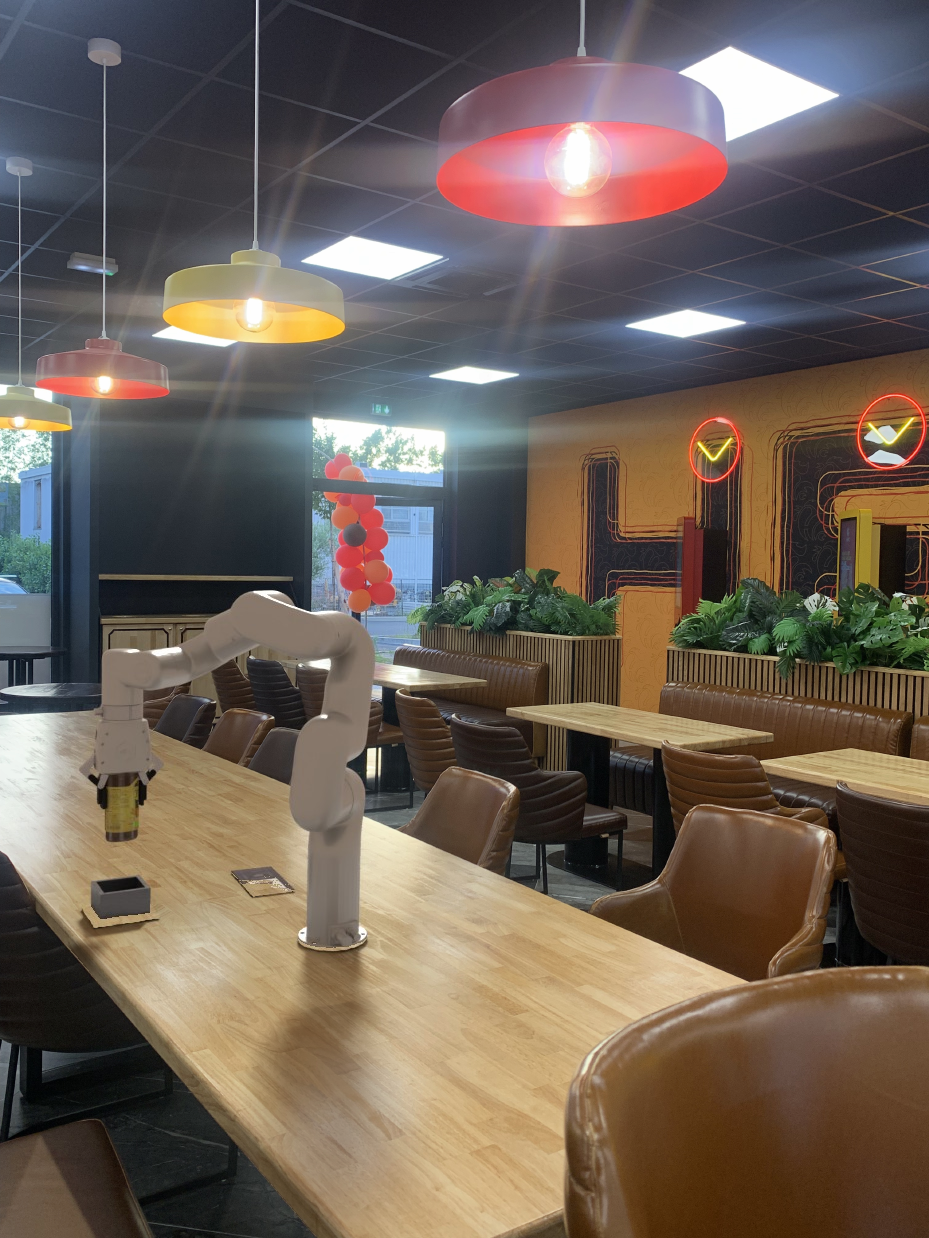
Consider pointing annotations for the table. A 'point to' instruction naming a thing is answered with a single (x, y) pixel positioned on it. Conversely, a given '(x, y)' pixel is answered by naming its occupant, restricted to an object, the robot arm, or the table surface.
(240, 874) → the chocolate bar
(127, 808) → the sauce bottle
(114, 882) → the condiment holder
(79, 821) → the table surface
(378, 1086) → the table surface
